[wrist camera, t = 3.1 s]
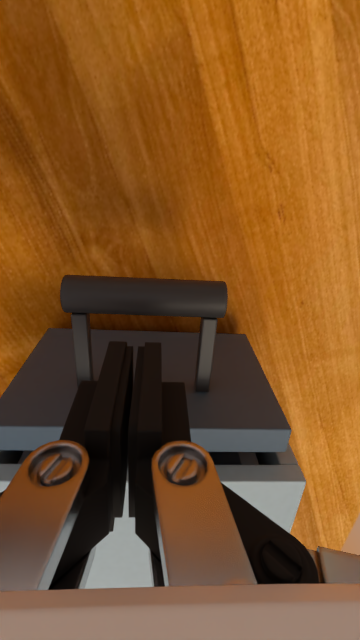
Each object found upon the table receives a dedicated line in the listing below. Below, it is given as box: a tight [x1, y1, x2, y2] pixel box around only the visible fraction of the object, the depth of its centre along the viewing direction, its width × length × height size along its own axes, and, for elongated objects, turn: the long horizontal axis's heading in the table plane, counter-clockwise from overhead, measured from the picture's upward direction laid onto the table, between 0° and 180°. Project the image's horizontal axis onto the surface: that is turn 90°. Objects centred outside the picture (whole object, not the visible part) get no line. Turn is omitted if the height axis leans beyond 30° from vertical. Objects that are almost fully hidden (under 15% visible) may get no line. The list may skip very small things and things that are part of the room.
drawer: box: [0, 275, 291, 465], centre depth 17 cm, size 18×11×8 cm, turn 177°
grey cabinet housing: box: [0, 443, 306, 589], centre depth 19 cm, size 15×13×10 cm
